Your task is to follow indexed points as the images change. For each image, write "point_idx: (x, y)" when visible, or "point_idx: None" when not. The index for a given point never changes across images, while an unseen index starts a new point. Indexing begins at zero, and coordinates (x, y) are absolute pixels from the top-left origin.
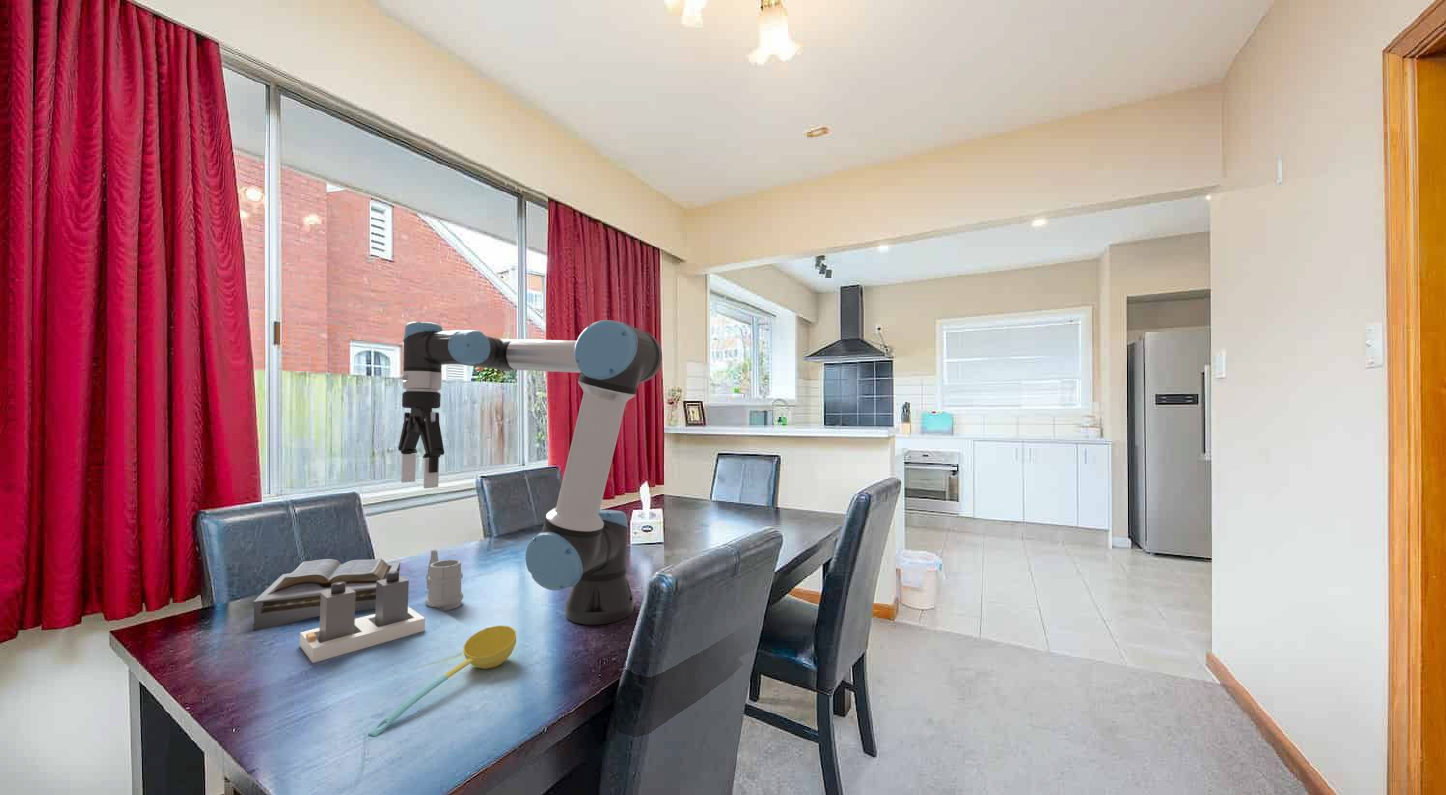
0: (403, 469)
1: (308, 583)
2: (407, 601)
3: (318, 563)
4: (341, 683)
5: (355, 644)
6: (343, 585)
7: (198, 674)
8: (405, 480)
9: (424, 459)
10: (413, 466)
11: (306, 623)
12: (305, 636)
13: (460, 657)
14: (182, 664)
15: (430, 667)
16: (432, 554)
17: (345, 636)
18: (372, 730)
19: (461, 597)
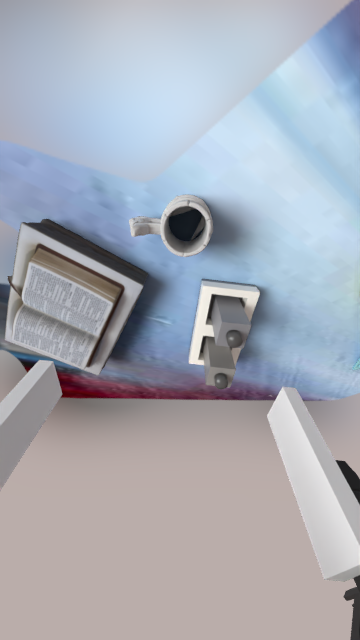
0: (29, 442)
1: (96, 350)
2: (244, 311)
3: (37, 335)
4: (274, 355)
5: None
6: (227, 381)
7: (174, 389)
8: (56, 392)
9: (322, 566)
10: (7, 429)
11: (122, 331)
12: (202, 364)
13: (334, 290)
14: (147, 390)
15: (320, 313)
16: (138, 234)
17: (232, 349)
18: (356, 368)
19: (207, 206)
